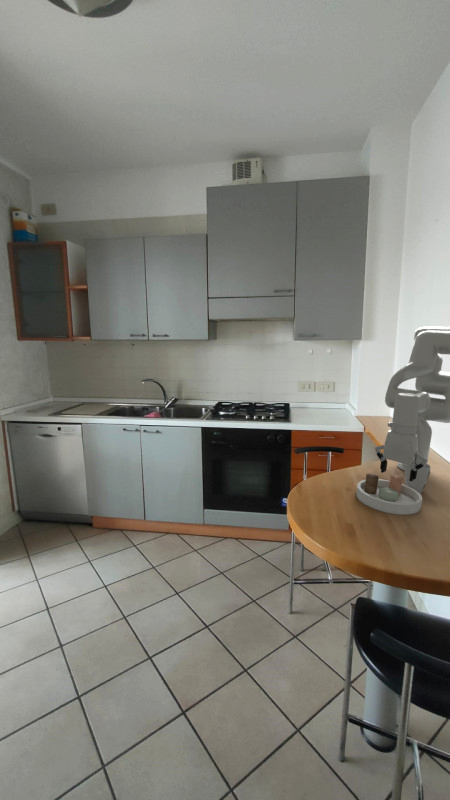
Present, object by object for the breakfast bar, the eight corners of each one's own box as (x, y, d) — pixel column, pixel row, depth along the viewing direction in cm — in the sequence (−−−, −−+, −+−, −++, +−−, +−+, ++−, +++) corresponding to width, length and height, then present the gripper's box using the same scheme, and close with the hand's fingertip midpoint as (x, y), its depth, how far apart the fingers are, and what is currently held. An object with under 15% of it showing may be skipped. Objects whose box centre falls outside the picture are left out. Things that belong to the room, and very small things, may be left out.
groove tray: (371, 483, 136) (372, 474, 136) (428, 502, 122) (430, 492, 122) (346, 498, 123) (347, 488, 122) (407, 521, 109) (409, 510, 108)
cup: (429, 496, 128) (433, 469, 126) (405, 493, 129) (409, 466, 127) (422, 487, 135) (426, 461, 134) (399, 484, 137) (402, 459, 135)
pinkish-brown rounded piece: (386, 492, 127) (388, 476, 125) (390, 489, 129) (392, 473, 128) (398, 496, 124) (400, 480, 123) (402, 493, 127) (404, 477, 125)
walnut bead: (367, 488, 129) (369, 472, 128) (378, 492, 126) (380, 476, 125) (362, 491, 126) (364, 475, 125) (373, 495, 124) (375, 478, 123)
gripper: (373, 425, 126) (368, 471, 129) (427, 437, 114) (420, 487, 117) (382, 421, 131) (377, 465, 135) (435, 432, 119) (427, 480, 123)
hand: (397, 475), depth 126 cm, fingers open, 9 cm apart
